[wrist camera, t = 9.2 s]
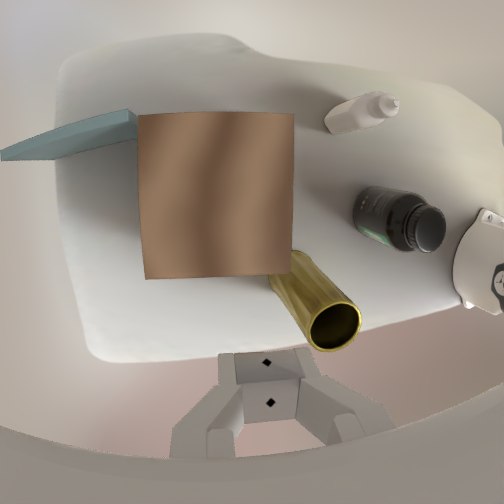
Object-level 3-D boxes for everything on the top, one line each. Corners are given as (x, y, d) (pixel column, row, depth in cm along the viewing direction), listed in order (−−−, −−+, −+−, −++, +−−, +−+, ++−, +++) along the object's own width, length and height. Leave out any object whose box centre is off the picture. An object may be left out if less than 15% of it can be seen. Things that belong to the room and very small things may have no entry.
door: (151, 135, 31) (128, 120, 20) (52, 160, 29) (1, 161, 19) (149, 117, 30) (126, 95, 20) (51, 143, 29) (-1, 139, 18)
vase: (258, 272, 38) (288, 330, 24) (296, 240, 38) (345, 281, 24) (287, 304, 40) (326, 368, 26) (322, 274, 39) (377, 325, 26)
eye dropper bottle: (320, 100, 33) (368, 77, 22) (359, 102, 34) (416, 84, 22) (323, 134, 34) (374, 124, 23) (363, 134, 35) (421, 127, 24)
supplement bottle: (355, 242, 39) (408, 271, 28) (347, 192, 37) (402, 204, 25) (396, 229, 39) (453, 252, 28) (389, 181, 37) (450, 191, 26)
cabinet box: (264, 131, 33) (293, 114, 22) (263, 240, 37) (290, 273, 25) (159, 132, 32) (138, 115, 20) (163, 243, 35) (145, 279, 24)
